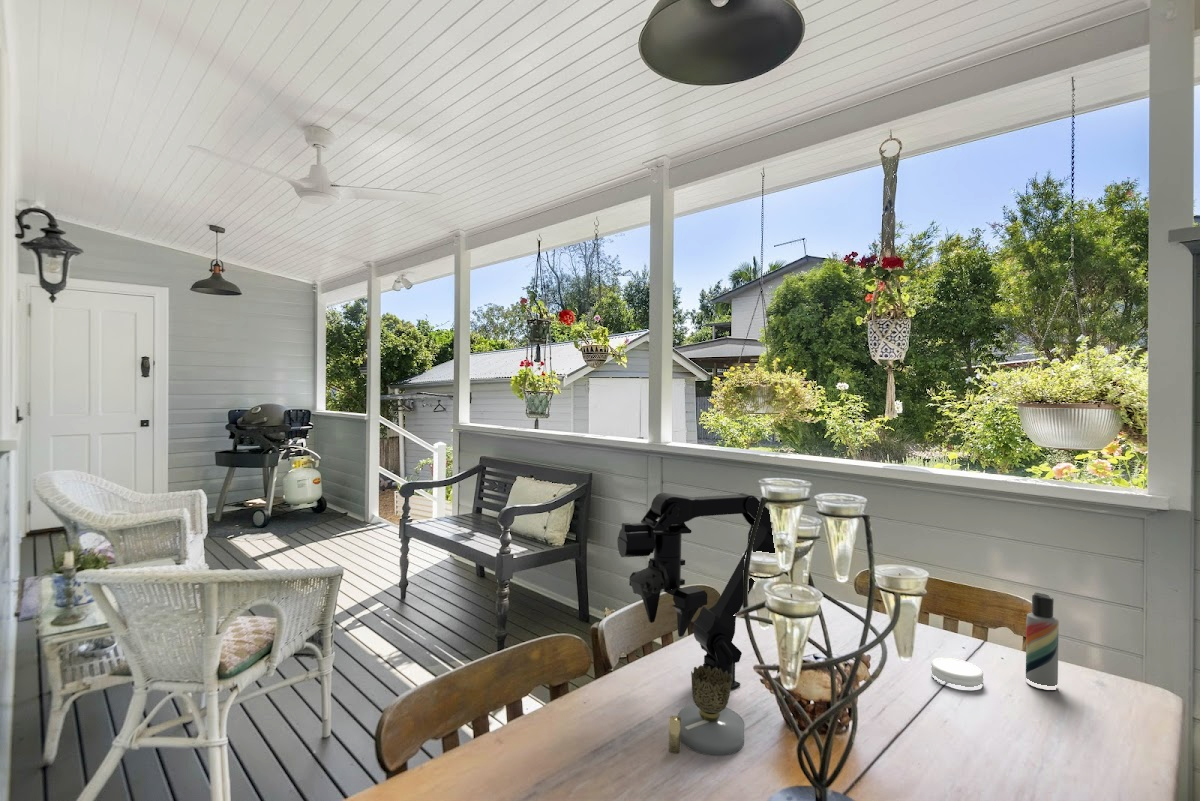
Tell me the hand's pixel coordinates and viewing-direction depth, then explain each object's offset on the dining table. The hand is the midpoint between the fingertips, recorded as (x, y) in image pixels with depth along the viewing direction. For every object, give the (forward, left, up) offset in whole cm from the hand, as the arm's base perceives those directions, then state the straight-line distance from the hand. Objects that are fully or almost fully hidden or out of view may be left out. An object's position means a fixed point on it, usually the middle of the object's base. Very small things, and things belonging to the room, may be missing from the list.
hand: (665, 629), depth 126 cm
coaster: (-59, +30, -14) cm, 68 cm away
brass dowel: (+12, +18, -13) cm, 25 cm away
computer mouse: (+4, +18, -13) cm, 22 cm away
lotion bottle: (-73, +41, -13) cm, 85 cm away
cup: (+4, +17, -10) cm, 20 cm away
